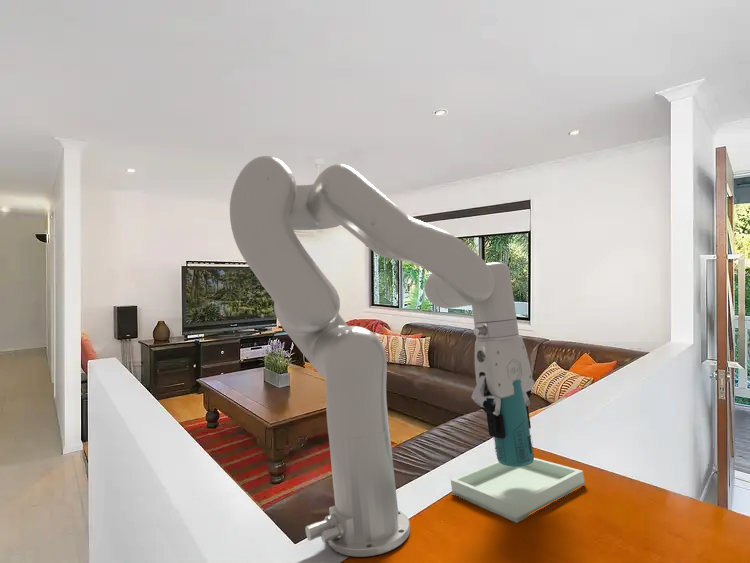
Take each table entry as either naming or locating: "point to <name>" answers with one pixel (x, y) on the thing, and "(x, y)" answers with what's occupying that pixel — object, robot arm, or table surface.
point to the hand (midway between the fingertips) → (510, 431)
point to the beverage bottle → (514, 431)
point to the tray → (517, 487)
